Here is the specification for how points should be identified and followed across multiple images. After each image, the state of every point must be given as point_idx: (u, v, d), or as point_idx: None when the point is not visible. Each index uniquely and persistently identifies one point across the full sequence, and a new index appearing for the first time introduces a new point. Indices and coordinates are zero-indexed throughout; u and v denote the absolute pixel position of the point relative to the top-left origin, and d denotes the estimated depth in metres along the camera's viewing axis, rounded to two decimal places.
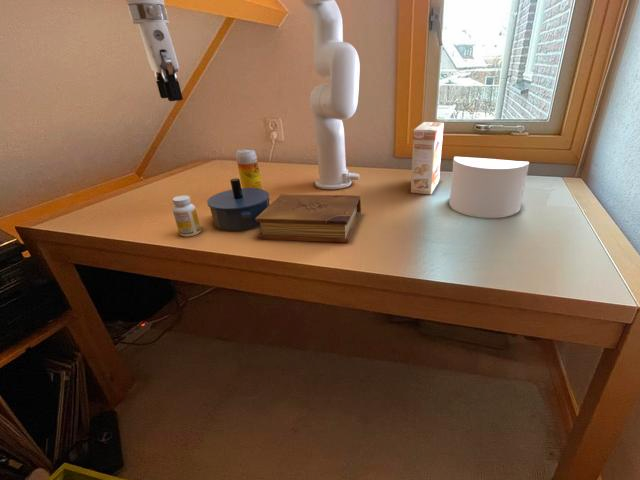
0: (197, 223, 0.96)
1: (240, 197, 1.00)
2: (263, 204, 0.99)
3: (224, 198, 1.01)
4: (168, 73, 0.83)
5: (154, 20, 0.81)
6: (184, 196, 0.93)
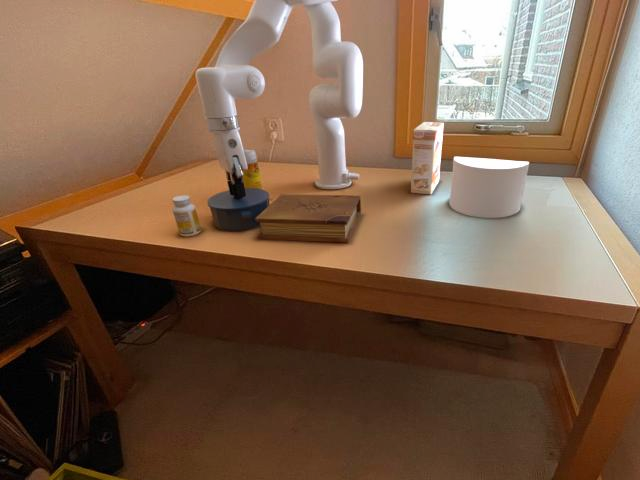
0: (197, 223, 0.96)
1: None
2: (263, 204, 0.99)
3: (224, 198, 1.01)
4: (236, 178, 0.94)
5: (229, 130, 0.89)
6: (184, 196, 0.93)
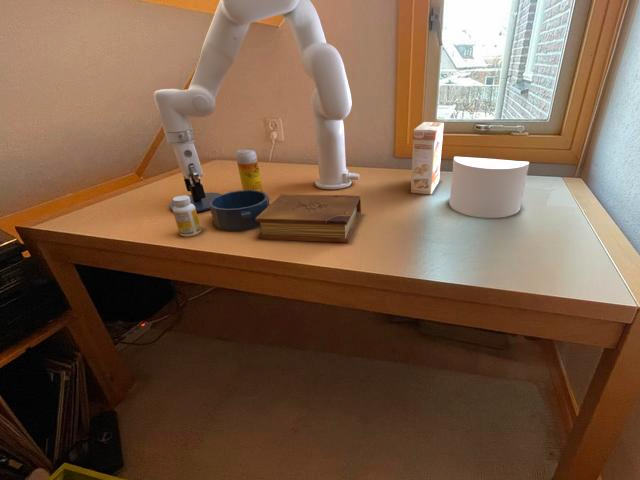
0: (197, 223, 0.96)
1: (198, 201, 1.15)
2: (263, 204, 0.99)
3: None
4: (195, 182, 1.06)
5: (184, 142, 1.04)
6: (184, 196, 0.93)
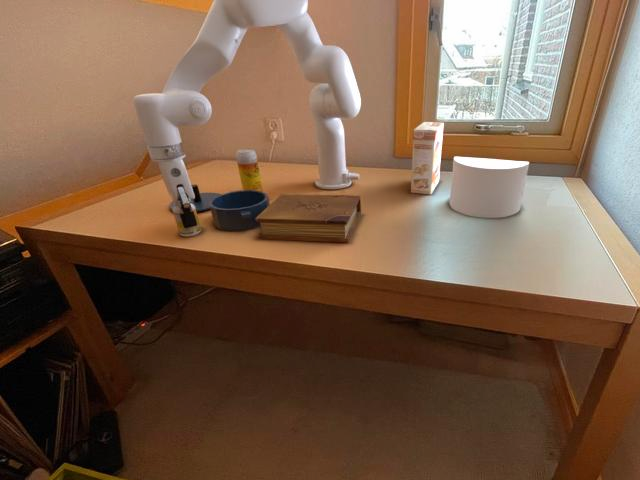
0: (197, 223, 0.96)
1: (198, 201, 1.15)
2: (263, 204, 0.99)
3: None
4: (184, 208, 0.89)
5: (172, 159, 0.85)
6: None
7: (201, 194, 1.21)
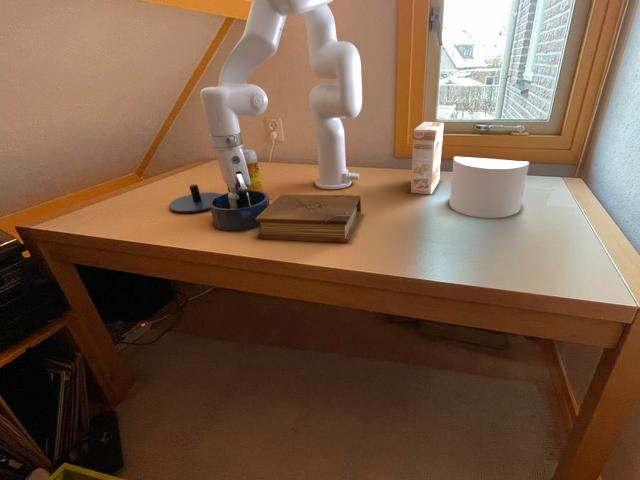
0: None
1: (198, 201, 1.15)
2: (263, 204, 0.99)
3: (185, 201, 1.15)
4: (241, 194, 0.95)
5: (232, 147, 0.91)
6: None
7: (201, 194, 1.21)
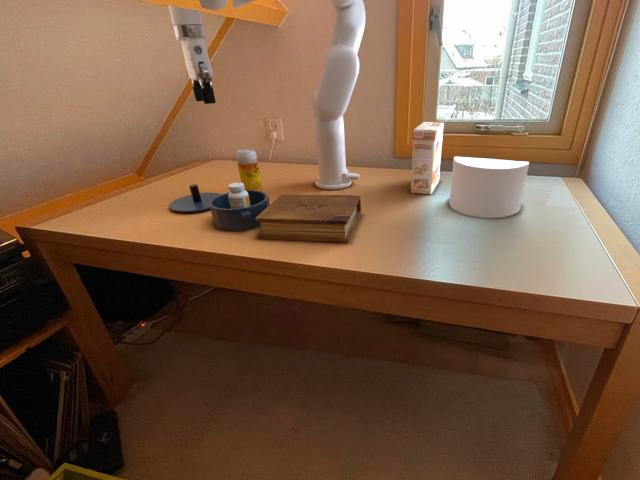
0: None
1: (198, 201, 1.15)
2: (263, 204, 0.99)
3: (185, 201, 1.15)
4: (205, 81, 1.01)
5: (194, 37, 0.99)
6: (238, 183, 1.00)
7: (201, 194, 1.21)
